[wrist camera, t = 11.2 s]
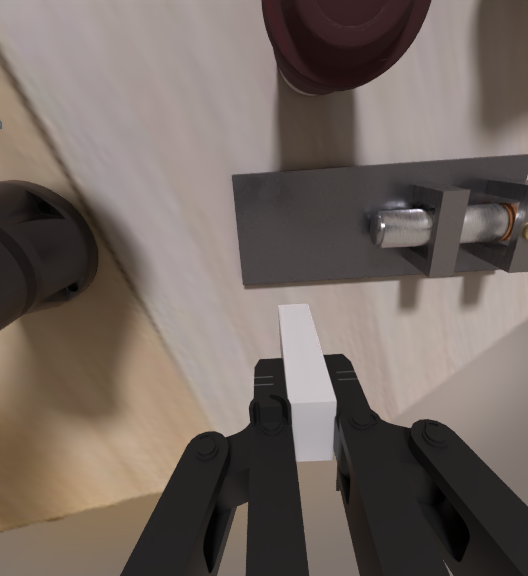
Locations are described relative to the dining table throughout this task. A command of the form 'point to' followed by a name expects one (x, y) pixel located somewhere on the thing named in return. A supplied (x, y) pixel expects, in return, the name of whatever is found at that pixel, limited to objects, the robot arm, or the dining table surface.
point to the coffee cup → (339, 40)
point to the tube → (418, 223)
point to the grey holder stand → (359, 211)
